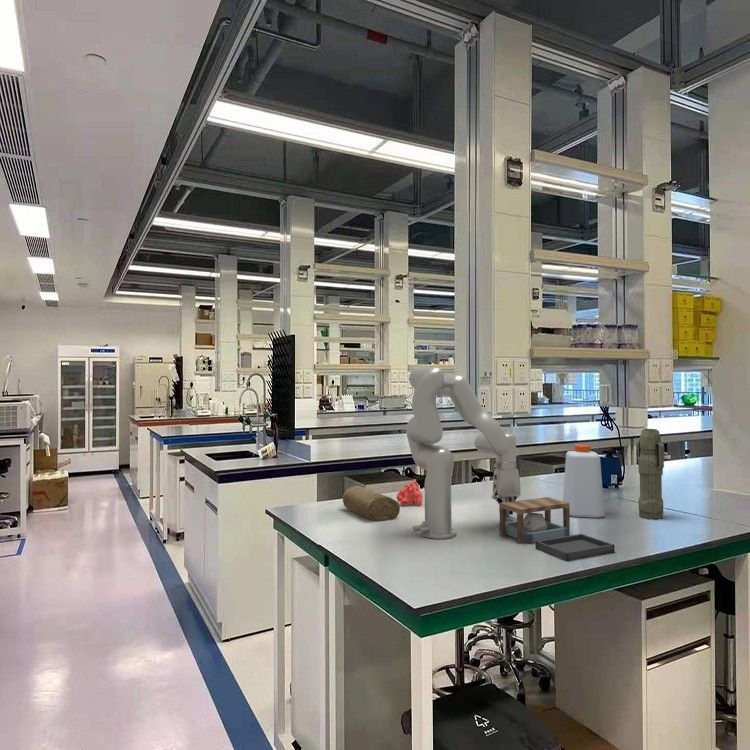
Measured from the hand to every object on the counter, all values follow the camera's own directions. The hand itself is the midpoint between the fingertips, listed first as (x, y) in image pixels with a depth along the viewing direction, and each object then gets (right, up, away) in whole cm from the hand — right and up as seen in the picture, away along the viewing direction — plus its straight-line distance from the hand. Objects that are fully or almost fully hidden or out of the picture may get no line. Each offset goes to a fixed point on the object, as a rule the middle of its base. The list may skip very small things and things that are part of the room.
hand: (506, 513), depth 213 cm
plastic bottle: (+35, -4, +17) cm, 39 cm away
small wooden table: (+7, -4, -14) cm, 16 cm away
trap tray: (+15, -4, -32) cm, 35 cm away
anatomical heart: (-34, -5, +34) cm, 48 cm away
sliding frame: (+5, -4, -10) cm, 12 cm away
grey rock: (+7, -4, -14) cm, 17 cm away
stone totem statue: (+60, -4, +10) cm, 61 cm away
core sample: (-52, -5, +18) cm, 56 cm away
